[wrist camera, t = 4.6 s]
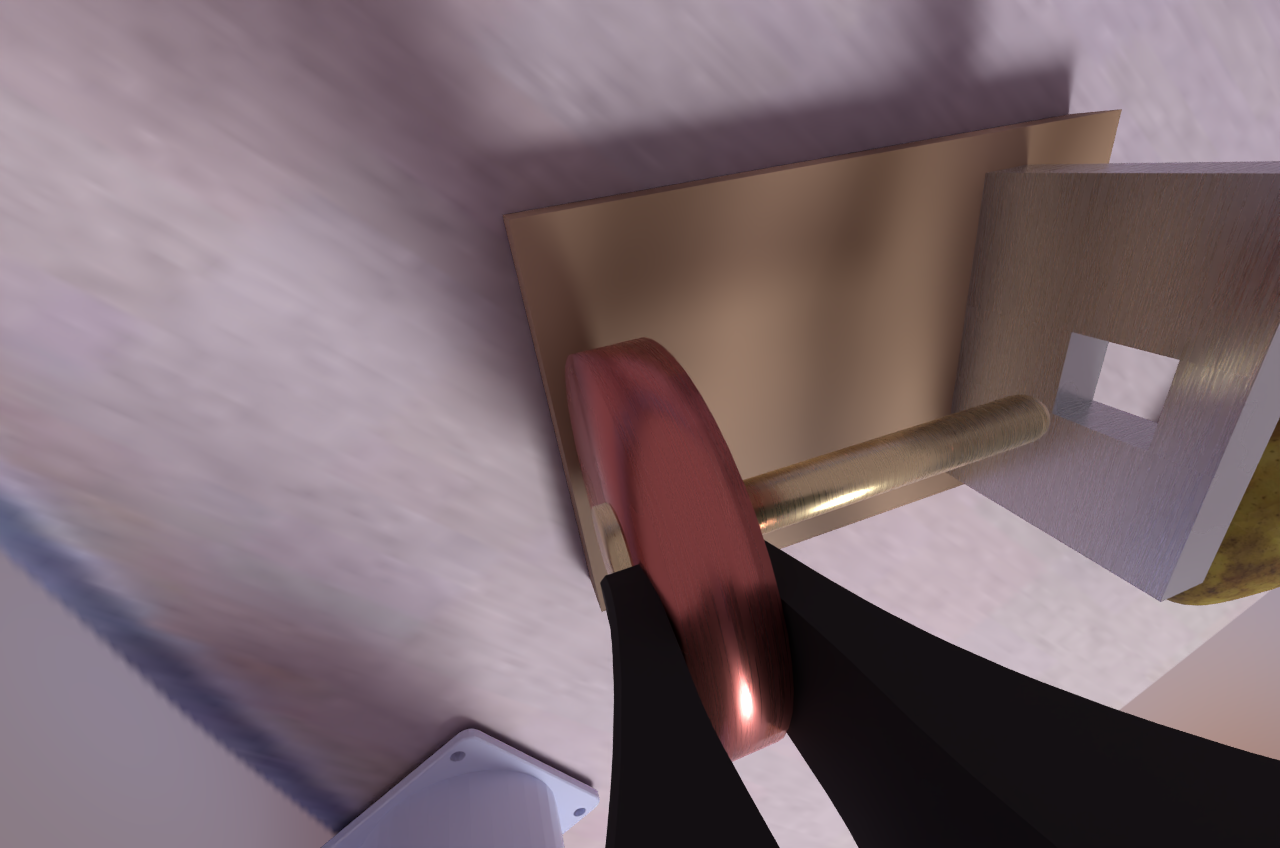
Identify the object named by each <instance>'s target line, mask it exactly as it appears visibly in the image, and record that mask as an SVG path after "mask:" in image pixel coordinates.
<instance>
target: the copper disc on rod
mask: <svg viewBox="0 0 1280 848" xmlns="http://www.w3.org/2000/svg"><path fill="white" fill-rule="evenodd" d="M565 382H566V393H567V401H568V408H569V414H570V420H571V426H572V431H573V436H574V441H575V446H576V451H577V455H578V460H579V464H580V468H581V473H582V477H583V481H584V485H585V489H586V493H587V497H588V501H589V505H590V508H591V512H592V518H593V523H594V527H595V532H596V536H597V540H598V543H599V547H600V551H601V554H602V557H603V561H604V564H605V567H606V570H607V573H608V574H611V573H614V572H617V571H620V570H623V569H626V568H629V567H632V566H635V565H638V564H639V565H640V567H641V568H642V570H643V571H644V573H645V574H646V576H647V577H648V579H649V580H650V582H651V584H652V585H653V587H654V589H655V590H656V592H657V594H658V595H659V597H660V600H661V602H662V605H663V607H664V609H665V612H666V614H667V617H668V619H669V622H670V624H671V627H672V629H673V632H674V634H675V637H676V639H677V642H678V644H679V647H680V649H681V652H682V654H683V657H684V659H685V662H686V664H687V667H688V669H689V672H690V674H691V677H692V679H693V682H694V684H695V687H696V689H697V692H698V694H699V697H700V699H701V702H702V704H703V706H704V708H705V710H706V713H707V715H708V717H709V719H710V721H711V724H712V726H713V728H714V730H715V732H716V734H717V736H718V737H719V739H720V741H721V743H722V745H723V747H724V748H725V750H726V752H727V754H728V756H729V758H730V759H731V761H732V762H733V761H735V760H737V759H739V758H742V757H744V756H746V755H749V754H751V753H753V752H755V751H758V750H760V749H762V748H764V747H767V746H769V745H771V744H774V743H776V742H778V741H779V740H781V739H782V738H784V736H785V734H786V733H787V731H788V729H789V726H790V722H791V717H792V713H793V696H794V687H793V671H792V660H791V653H790V646H789V639H788V632H787V627H786V623H785V618H784V613H783V608H782V603H781V598H780V595H779V591H778V587H777V583H776V579H775V576H774V572H773V568H772V564H771V560H770V557H769V554H768V551H767V548H766V545H765V541H764V538H763V534H766V533H769V532H772V531H775V530H778V529H781V528H784V527H787V526H789V525H792V524H795V523H798V522H801V521H804V520H807V519H810V518H813V517H816V516H819V515H822V514H824V513H827V512H830V511H833V510H836V509H839V508H842V507H845V506H848V505H851V504H854V503H856V502H859V501H862V500H865V499H868V498H871V497H874V496H877V495H880V494H883V493H886V492H888V491H891V490H894V489H897V488H900V487H903V486H906V485H909V484H912V483H915V482H918V481H921V480H923V479H926V478H929V477H932V476H935V475H938V474H941V473H944V472H947V471H950V470H953V469H955V468H958V467H961V466H964V465H967V464H970V463H973V462H976V461H979V460H982V459H985V458H987V457H990V456H993V455H996V454H999V453H1002V452H1005V451H1008V450H1011V449H1014V448H1017V447H1020V446H1022V445H1025V444H1028V443H1031V442H1034V441H1036V440H1037V439H1039V438H1040V437H1042V436H1043V435H1044V434H1045V433H1046V431H1047V430H1048V428H1049V425H1050V414H1049V411H1048V409H1047V407H1046V406H1045V405H1044V404H1043V403H1042V402H1041V401H1040V400H1038V399H1037V398H1035V397H1032V396H1029V395H1020V394H1018V395H1011V396H1008V397H1004V398H1001V399H998V400H995V401H992V402H989V403H985V404H982V405H979V406H976V407H973V408H970V409H966V410H963V411H960V412H957V413H954V414H951V415H947V416H944V417H941V418H938V419H935V420H932V421H928V422H925V423H922V424H919V425H916V426H913V427H909V428H906V429H903V430H900V431H897V432H894V433H890V434H887V435H884V436H881V437H878V438H875V439H871V440H868V441H865V442H862V443H859V444H856V445H852V446H849V447H846V448H843V449H840V450H837V451H833V452H830V453H827V454H824V455H821V456H818V457H814V458H811V459H808V460H805V461H802V462H799V463H795V464H792V465H789V466H786V467H783V468H780V469H776V470H773V471H770V472H767V473H764V474H761V475H757V476H754V477H751V478H748V479H745V480H742V477H741V475H740V473H739V470H738V468H737V466H736V463H735V461H734V459H733V456H732V454H731V452H730V449H729V447H728V445H727V443H726V441H725V439H724V437H723V435H722V433H721V431H720V429H719V427H718V425H717V423H716V421H715V419H714V417H713V415H712V413H711V412H710V410H709V408H708V406H707V404H706V403H705V401H704V399H703V397H702V395H701V394H700V392H699V391H698V389H697V388H696V386H695V385H694V383H693V381H692V380H691V378H690V377H689V375H688V374H687V372H686V371H685V370H684V369H683V367H682V366H681V365H680V364H679V362H678V361H677V360H676V359H675V357H674V356H673V355H672V354H671V353H670V352H669V351H668V350H667V349H666V348H664V347H663V346H662V345H661V344H659V343H658V342H656V341H655V340H653V339H650V338H646V337H642V338H637V339H633V340H629V341H625V342H620V343H616V344H612V345H608V346H604V347H600V348H595V349H591V350H587V351H583V352H579V353H575V354H571V355H568V357H567V359H566V365H565Z"/></svg>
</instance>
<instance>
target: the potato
mask: <svg viewBox="0 0 1280 848" xmlns="http://www.w3.org/2000/svg"><path fill="white" fill-rule="evenodd" d="M1277 587H1280V418H1279V420H1278V422H1277V424H1276V427H1275V429H1274V431H1273V433H1272V435H1271V437H1270V439H1269V442H1268V444H1267V446H1266V448H1265V450H1264V452H1263V454H1262V457H1261V459H1260V461H1259V463H1258V465H1257V467H1256V469H1255V472H1254V474H1253V476H1252V478H1251V480H1250V482H1249V485H1248V487H1247V489H1246V491H1245V493H1244V495H1243V497H1242V500H1241V502H1240V504H1239V506H1238V508H1237V510H1236V512H1235V515H1234V517H1233V519H1232V521H1231V523H1230V525H1229V527H1228V530H1227V532H1226V534H1225V536H1224V538H1223V540H1222V542H1221V545H1220V547H1219V549H1218V551H1217V553H1216V555H1215V557H1214V560H1213V562H1212V564H1211V566H1210V568H1209V570H1208V573H1207V575H1206V577H1205V579H1204V581H1203V583H1201V584H1199V585H1197V586H1194V587H1192V588H1190V589H1188V590H1186V591H1184V592H1181V593H1179V594H1177V595H1175V596H1173V597H1170V598H1168V599H1167V600H1170V601H1172V602H1176V603H1180V604H1184V605H1209V604H1216V603H1222V602H1226V601H1231V600H1235V599H1239V598H1243V597H1246V596H1250V595H1254V594H1257V593H1261V592H1264V591H1268V590H1272V589H1275V588H1277Z"/></svg>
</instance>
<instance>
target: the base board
mask: <svg viewBox="0 0 1280 848" xmlns="http://www.w3.org/2000/svg"><path fill="white" fill-rule="evenodd" d="M1121 110H1122V109H1121ZM1121 110H1110V111H1099V112H1088V113H1077V114H1068V115H1063V116H1057V117H1052V118H1046V119H1040V120H1035V121H1029V122H1023V123H1018V124H1012V125H1006V126H1001V127H995V128H990V129H984V130H978V131H973V132H967V133H961V134H956V135H950V136H945V137H939V138H933V139H928V140H922V141H916V142H911V143H905V144H900V145H894V146H888V147H883V148H877V149H871V150H866V151H860V152H855V153H849V154H843V155H838V156H832V157H826V158H821V159H815V160H810V161H804V162H798V163H793V164H787V165H781V166H776V167H770V168H765V169H759V170H753V171H748V172H742V173H736V174H731V175H725V176H720V177H714V178H708V179H703V180H697V181H691V182H686V183H680V184H675V185H669V186H663V187H658V188H652V189H646V190H641V191H635V192H630V193H624V194H618V195H613V196H607V197H601V198H596V199H590V200H585V201H579V202H573V203H568V204H562V205H556V206H551V207H545V208H540V209H534V210H528V211H523V212H517V213H511V214H506V215H503V219H504V223H505V227H506V232H507V236H508V240H509V244H510V248H511V252H512V256H513V261H514V265H515V269H516V273H517V277H518V281H519V285H520V290H521V294H522V298H523V302H524V306H525V310H526V314H527V318H528V323H529V327H530V331H531V335H532V339H533V343H534V347H535V352H536V356H537V360H538V364H539V368H540V372H541V376H542V381H543V385H544V389H545V393H546V397H547V401H548V405H549V409H550V414H551V418H552V422H553V426H554V430H555V434H556V438H557V443H558V447H559V451H560V455H561V459H562V463H563V467H564V472H565V476H566V480H567V484H568V488H569V492H570V496H571V500H572V505H573V509H574V513H575V517H576V521H577V525H578V529H579V534H580V538H581V542H582V546H583V550H584V554H585V558H586V563H587V567H588V571H589V575H590V579H591V583H592V585H593V588H594V591H595V594H596V597H597V600H598V602H599V605H600V608H601V611H602V612H603V611H605V610H606V607H605V603H604V598H603V594H602V590H601V585H600V582H601V581H602V579H603V578H604V577H605V575H608V573H607V570H606V567H605V564H604V561H603V557H602V554H601V551H600V547H599V543H598V540H597V536H596V532H595V527H594V523H593V518H592V512H591V508H590V505H589V501H588V497H587V493H586V489H585V485H584V481H583V477H582V473H581V468H580V464H579V460H578V455H577V451H576V446H575V441H574V436H573V431H572V426H571V420H570V414H569V408H568V401H567V393H566V382H565V365H566V359H567V357H568V355H571V354H575V353H579V352H583V351H587V350H591V349H595V348H600V347H604V346H608V345H612V344H616V343H620V342H625V341H629V340H633V339H637V338H642V337H646V338H650V339H653V340H655V341H656V342H658V343H659V344H661V345H662V346H663V347H664V348H666V349H667V350H668V351H669V352H670V353H671V354H672V355H673V356H674V357H675V359H676V360H677V361H678V362H679V364H680V365H681V366H682V367H683V369H684V370H685V371H686V372H687V374H688V375H689V377H690V378H691V380H692V381H693V383H694V385H695V386H696V388H697V389H698V391H699V392H700V394H701V395H702V397H703V399H704V401H705V403H706V404H707V406H708V408H709V410H710V412H711V413H712V415H713V417H714V419H715V421H716V423H717V425H718V427H719V429H720V431H721V433H722V435H723V437H724V439H725V441H726V443H727V445H728V447H729V449H730V452H731V454H732V456H733V459H734V461H735V463H736V466H737V468H738V470H739V473H740V475H741V477H742V480H745V479H748V478H751V477H754V476H757V475H761V474H764V473H767V472H770V471H773V470H776V469H780V468H783V467H786V466H789V465H792V464H795V463H799V462H802V461H805V460H808V459H811V458H814V457H818V456H821V455H824V454H827V453H830V452H833V451H837V450H840V449H843V448H846V447H849V446H852V445H856V444H859V443H862V442H865V441H868V440H871V439H875V438H878V437H881V436H884V435H887V434H890V433H894V432H897V431H900V430H903V429H906V428H909V427H913V426H916V425H919V424H922V423H925V422H928V421H932V420H935V419H938V418H941V417H944V416H947V415H951V408H952V401H953V394H954V388H955V381H956V374H957V367H958V360H959V353H960V346H961V340H962V333H963V326H964V319H965V312H966V305H967V298H968V292H969V285H970V278H971V271H972V264H973V257H974V250H975V243H976V237H977V230H978V223H979V216H980V209H981V202H982V195H983V189H984V182H985V175H986V173H988V172H993V171H998V170H1003V169H1008V168H1013V167H1018V166H1023V165H1031V164H1109V160H1110V156H1111V152H1112V147H1113V143H1114V139H1115V135H1116V131H1117V127H1118V123H1119V118H1120V114H1121ZM963 484H964V483H962V482H961V481H959V480H957V479H956V478H954V477H952V476H951V475H949V474H947V473H946V472H944V473H941V474H938V475H935V476H932V477H929V478H926V479H923V480H921V481H918V482H915V483H912V484H909V485H906V486H903V487H900V488H897V489H894V490H891V491H888V492H886V493H883V494H880V495H877V496H874V497H871V498H868V499H865V500H862V501H859V502H856V503H854V504H851V505H848V506H845V507H842V508H839V509H836V510H833V511H830V512H827V513H824V514H822V515H819V516H816V517H813V518H810V519H807V520H804V521H801V522H798V523H795V524H792V525H789V526H787V527H784V528H781V529H778V530H775V531H772V532H769V533H766V534H763V538H764V540H766V541H767V542H769V543H770V544H772V545H774V546H775V547H777V548H779V549H781V548H784V547H787V546H790V545H793V544H795V543H798V542H801V541H804V540H807V539H810V538H812V537H815V536H818V535H821V534H824V533H827V532H829V531H832V530H835V529H838V528H841V527H844V526H847V525H849V524H852V523H855V522H858V521H861V520H864V519H866V518H869V517H872V516H875V515H878V514H881V513H883V512H886V511H889V510H892V509H895V508H898V507H900V506H903V505H906V504H909V503H912V502H915V501H917V500H920V499H923V498H926V497H929V496H932V495H934V494H937V493H940V492H943V491H946V490H949V489H951V488H954V487H957V486H960V485H963Z"/></svg>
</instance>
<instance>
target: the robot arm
mask: <svg viewBox="0 0 1280 848" xmlns="http://www.w3.org/2000/svg"><path fill="white" fill-rule="evenodd" d="M764 541H765V545H766V548H767V551H768V554H769V557H770V560H771V564H772V568H773V572H774V576H775V579H776V583H777V587H778V591H779V595H780V598H781V603H782V608H783V613H784V618H785V623H786V627H787V632H788V639H789V646H790V653H791V660H792V671H793V687H794V696H793V713H792V717H791V722H790V726H789V729H788V731H787V734H788V735H789V737H790V738H791V740H792V741H793V743H794V744H795V746H796V747H797V749H798V750H799V752H800V753H801V755H802V757H803V758H804V760H805V761H806V763H807V764H808V766H809V767H810V769H811V770H812V772H813V773H814V775H815V776H816V778H817V779H818V781H819V782H820V784H821V785H822V787H823V788H824V790H825V791H826V793H827V795H828V796H829V798H830V799H831V801H832V803H833V804H834V806H835V808H836V809H837V811H838V812H839V814H840V816H841V817H842V819H843V821H844V822H845V824H846V826H847V827H848V829H849V831H850V833H851V835H852V837H853V838H854V840H855V842H856V844H857V846H858V848H1280V760H1276V759H1272V758H1269V757H1265V756H1261V755H1257V754H1254V753H1250V752H1247V751H1244V750H1240V749H1237V748H1234V747H1230V746H1227V745H1224V744H1220V743H1218V742H1214V741H1211V740H1208V739H1205V738H1202V737H1199V736H1195V735H1192V734H1189V733H1186V732H1183V731H1179V730H1176V729H1173V728H1170V727H1167V726H1164V725H1160V724H1157V723H1154V722H1151V721H1148V720H1145V719H1143V718H1140V717H1137V716H1134V715H1131V714H1128V713H1125V712H1122V711H1119V710H1116V709H1113V708H1110V707H1107V706H1105V705H1102V704H1099V703H1097V702H1094V701H1091V700H1089V699H1086V698H1083V697H1081V696H1078V695H1075V694H1072V693H1070V692H1067V691H1064V690H1062V689H1059V688H1056V687H1054V686H1051V685H1048V684H1046V683H1043V682H1040V681H1038V680H1035V679H1033V678H1030V677H1028V676H1025V675H1023V674H1020V673H1018V672H1015V671H1013V670H1010V669H1008V668H1006V667H1003V666H1001V665H999V664H996V663H994V662H992V661H990V660H987V659H985V658H983V657H980V656H978V655H976V654H974V653H971V652H969V651H967V650H964V649H962V648H960V647H958V646H955V645H953V644H951V643H949V642H947V641H945V640H942V639H940V638H938V637H936V636H934V635H932V634H930V633H928V632H926V631H924V630H922V629H920V628H918V627H916V626H914V625H912V624H910V623H908V622H906V621H904V620H902V619H900V618H898V617H896V616H894V615H892V614H890V613H888V612H886V611H885V610H883V609H881V608H879V607H877V606H875V605H873V604H872V603H870V602H868V601H866V600H864V599H863V598H861V597H859V596H857V595H856V594H854V593H852V592H850V591H849V590H847V589H845V588H843V587H842V586H840V585H838V584H836V583H835V582H833V581H831V580H829V579H828V578H826V577H824V576H823V575H821V574H819V573H818V572H816V571H814V570H813V569H811V568H809V567H808V566H806V565H804V564H803V563H801V562H800V561H798V560H796V559H795V558H793V557H791V556H790V555H788V554H787V553H785V552H783V551H782V550H780V549H779V548H777V547H775V546H774V545H772V544H770V543H769V542H767V541H766V540H764ZM600 585H601V590H602V594H603V598H604V603H605V607H606V611H607V616H608V620H609V624H610V629H611V639H612V653H613V676H614V722H613V757H612V775H611V790H610V803H609V814H608V826H607V836H606V846H605V848H779V846H778V844H777V842H776V840H775V839H774V837H773V835H772V833H771V832H770V830H769V828H768V826H767V825H766V823H765V821H764V819H763V817H762V816H761V814H760V812H759V810H758V809H757V807H756V805H755V803H754V801H753V800H752V798H751V796H750V794H749V793H748V791H747V789H746V787H745V785H744V783H743V782H742V780H741V778H740V776H739V774H738V772H737V770H736V769H735V767H734V765H733V763H732V761H731V759H730V758H729V756H728V754H727V752H726V750H725V748H724V747H723V745H722V743H721V741H720V739H719V737H718V736H717V734H716V732H715V730H714V728H713V726H712V724H711V721H710V719H709V717H708V715H707V713H706V710H705V708H704V706H703V704H702V702H701V699H700V697H699V694H698V692H697V689H696V687H695V684H694V682H693V679H692V677H691V674H690V672H689V669H688V667H687V664H686V662H685V659H684V657H683V654H682V652H681V649H680V647H679V644H678V642H677V639H676V637H675V634H674V632H673V629H672V627H671V624H670V622H669V619H668V617H667V614H666V612H665V609H664V607H663V605H662V602H661V600H660V597H659V595H658V594H657V592H656V590H655V589H654V587H653V585H652V584H651V582H650V580H649V579H648V577H647V576H646V574H645V573H644V571H643V570H642V568H641V567H640V565H639V564H638V565H635V566H632V567H629V568H626V569H623V570H620V571H617V572H614V573H611V574H608V575H605V577H604V578H603V579H602V581H601V582H600ZM599 801H600V800H599V795H598V791H597V790H596V789H594V788H592V787H590V786H588V785H586V784H584V783H582V782H580V781H578V780H576V779H574V778H572V777H570V776H568V775H566V774H564V773H562V772H560V771H558V770H556V769H555V768H553V767H551V766H549V765H547V764H545V763H543V762H541V761H539V760H537V759H535V758H533V757H531V756H529V755H527V754H525V753H523V752H521V751H519V750H517V749H515V748H513V747H511V746H509V745H507V744H505V743H503V742H501V741H499V740H497V739H495V738H493V737H491V736H489V735H487V734H485V733H483V732H481V731H479V730H477V729H466V730H463V731H462V732H460V733H458V734H457V735H456V736H455V737H454V738H452V739H451V740H450V741H449V742H448V743H446V744H445V745H444V746H443V747H441V748H440V749H439V750H438V751H437V752H435V753H434V754H433V755H432V756H431V757H429V758H428V759H427V760H426V761H425V762H423V763H422V764H421V765H420V766H419V767H417V768H416V769H415V770H414V771H413V772H411V773H410V774H409V775H408V776H406V777H405V778H404V779H403V780H402V781H400V782H399V783H398V784H397V785H396V786H394V787H393V788H392V789H391V790H390V791H388V792H387V793H386V794H385V795H384V796H382V797H381V798H380V799H379V800H378V801H376V802H375V803H374V804H373V805H372V806H370V807H369V808H368V809H367V810H365V811H364V812H363V813H362V814H361V815H359V816H358V817H357V818H356V819H355V820H353V821H352V822H351V823H350V824H349V825H347V826H346V827H345V828H344V829H343V830H341V831H340V832H339V833H338V834H337V835H335V836H334V837H333V838H332V839H331V840H329V841H328V842H327V843H326V844H324V845H323V846H322V847H321V848H565V847H564V841H563V836H562V834H564V833H565V832H566V831H567V830H569V829H570V828H571V827H572V826H573V825H575V824H576V823H577V822H578V821H580V820H581V819H582V818H583V817H584V816H586V815H587V814H588V813H589V812H591V811H592V810H593V809H594V808H595V807H596V806H597V805H598V803H599Z"/></svg>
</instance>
